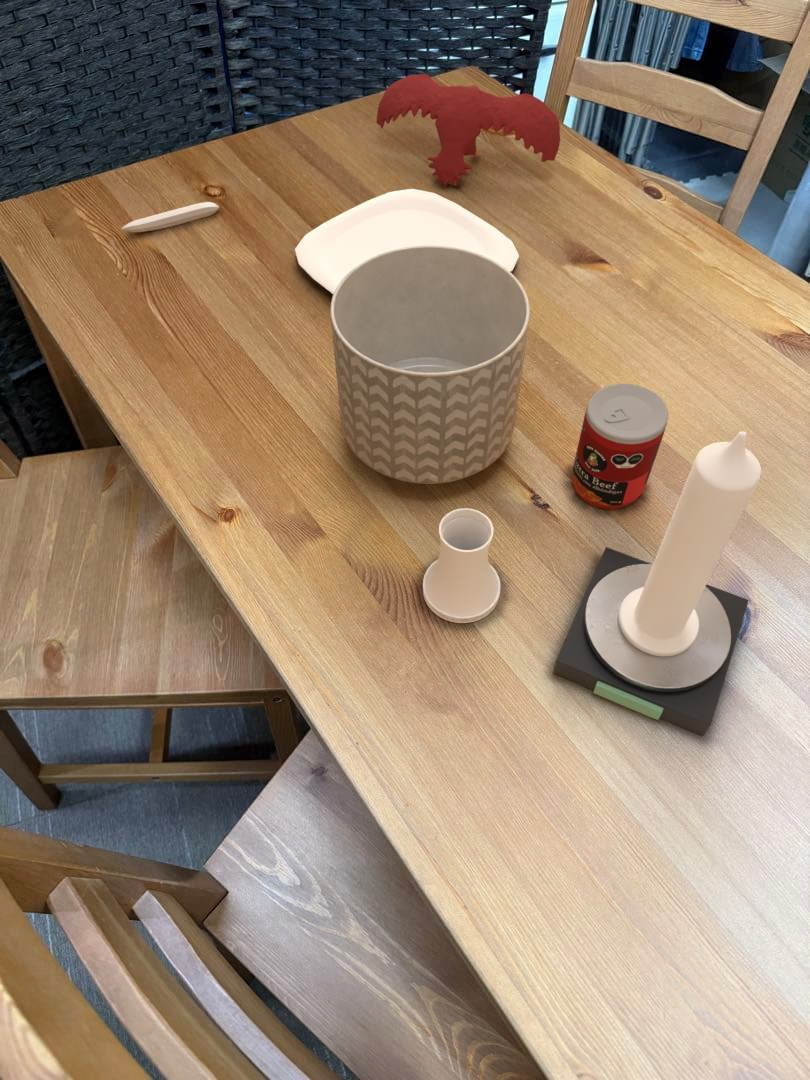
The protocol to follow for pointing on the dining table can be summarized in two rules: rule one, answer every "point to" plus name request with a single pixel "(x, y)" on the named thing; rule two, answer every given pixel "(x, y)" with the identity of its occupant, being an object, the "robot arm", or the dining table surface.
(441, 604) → the vase
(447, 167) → the decorative bird sculpture
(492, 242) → the plate
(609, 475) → the canned food
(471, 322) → the planter
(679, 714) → the scale
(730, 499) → the candle
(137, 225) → the pen
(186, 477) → the dining table surface
